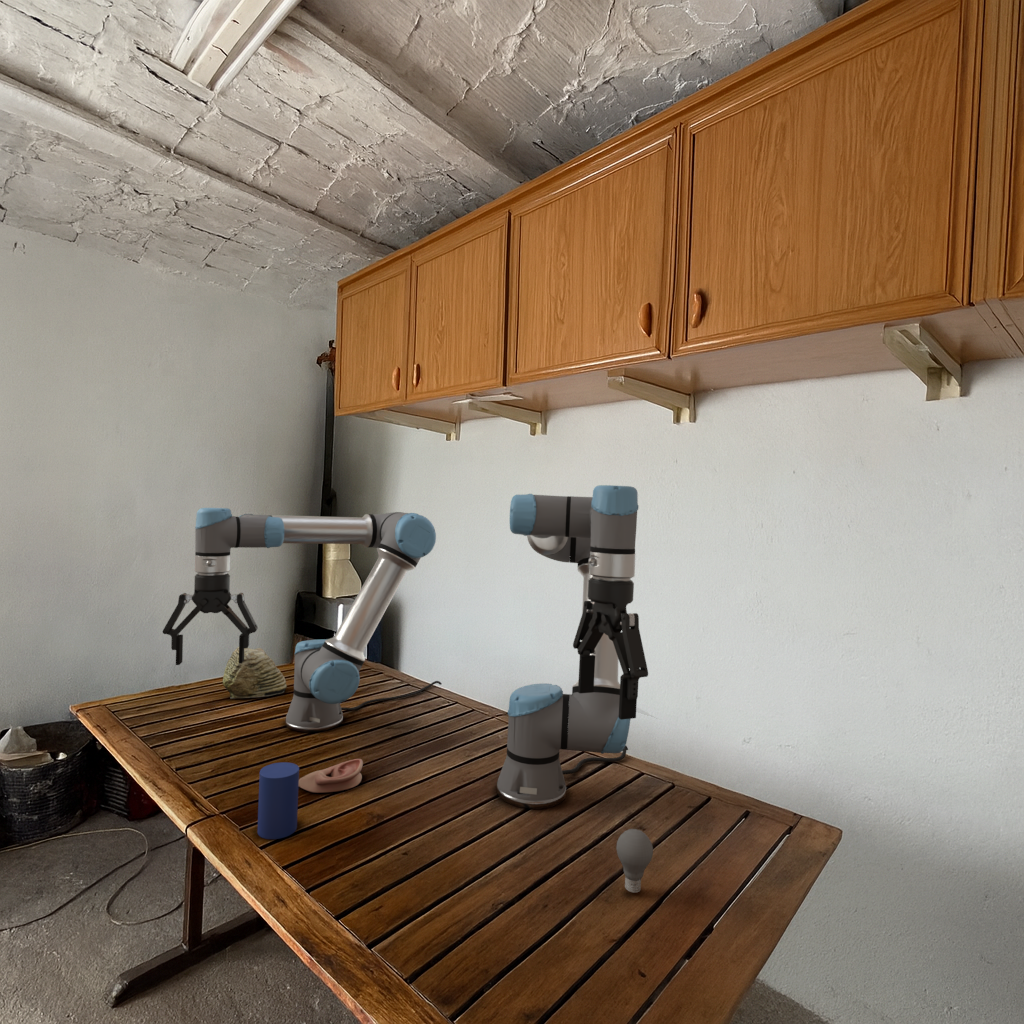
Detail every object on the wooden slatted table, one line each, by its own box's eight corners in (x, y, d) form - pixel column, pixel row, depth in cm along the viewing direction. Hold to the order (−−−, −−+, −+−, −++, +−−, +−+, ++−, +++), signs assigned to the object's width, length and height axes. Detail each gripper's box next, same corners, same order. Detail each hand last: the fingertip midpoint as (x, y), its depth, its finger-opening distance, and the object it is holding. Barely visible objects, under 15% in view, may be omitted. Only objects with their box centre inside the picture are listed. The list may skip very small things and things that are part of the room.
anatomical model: (289, 770, 136) (316, 750, 147) (288, 789, 136) (315, 767, 147) (346, 778, 133) (369, 757, 145) (345, 797, 133) (368, 774, 145)
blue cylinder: (273, 843, 115) (275, 781, 115) (249, 831, 119) (251, 771, 119) (304, 827, 121) (307, 768, 121) (280, 816, 125) (282, 759, 125)
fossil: (218, 695, 195) (220, 647, 195) (278, 685, 208) (279, 640, 207) (228, 703, 189) (230, 653, 188) (289, 692, 201) (290, 645, 201)
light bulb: (610, 879, 108) (613, 822, 108) (644, 879, 109) (647, 822, 109) (619, 902, 102) (622, 840, 102) (655, 901, 103) (658, 840, 103)
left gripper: (148, 575, 143) (147, 668, 143) (266, 575, 149) (264, 665, 149) (158, 571, 150) (157, 660, 150) (270, 571, 156) (268, 657, 156)
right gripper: (558, 569, 116) (552, 684, 116) (632, 589, 93) (626, 733, 93) (594, 569, 118) (588, 681, 119) (675, 588, 95) (668, 728, 96)
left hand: (210, 662), depth 150 cm, fingers open, 13 cm apart
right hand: (605, 704), depth 106 cm, fingers open, 13 cm apart
